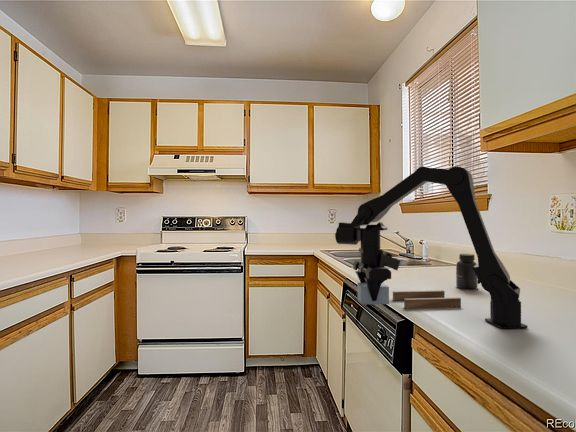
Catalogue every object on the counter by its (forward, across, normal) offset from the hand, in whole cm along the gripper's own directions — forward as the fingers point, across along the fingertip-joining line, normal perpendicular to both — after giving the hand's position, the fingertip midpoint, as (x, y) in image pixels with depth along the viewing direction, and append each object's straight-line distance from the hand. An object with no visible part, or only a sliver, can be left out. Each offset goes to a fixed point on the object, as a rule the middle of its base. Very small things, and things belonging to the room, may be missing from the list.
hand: (370, 298), depth 102 cm
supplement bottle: (+2, +19, -40) cm, 45 cm away
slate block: (+1, 0, 0) cm, 1 cm away
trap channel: (+2, 0, -16) cm, 17 cm away
